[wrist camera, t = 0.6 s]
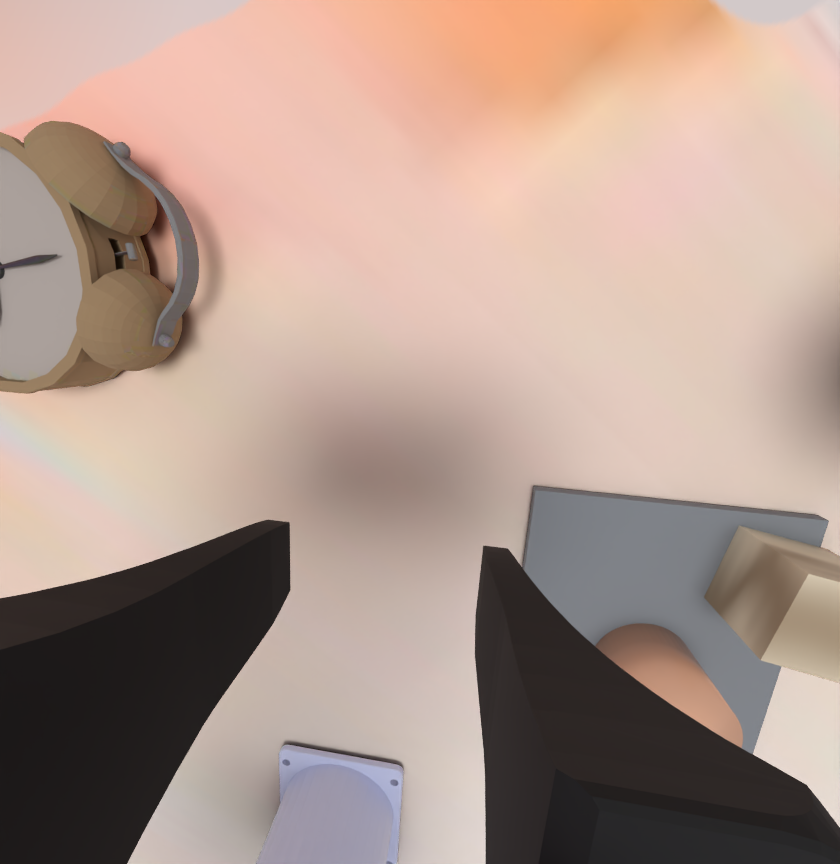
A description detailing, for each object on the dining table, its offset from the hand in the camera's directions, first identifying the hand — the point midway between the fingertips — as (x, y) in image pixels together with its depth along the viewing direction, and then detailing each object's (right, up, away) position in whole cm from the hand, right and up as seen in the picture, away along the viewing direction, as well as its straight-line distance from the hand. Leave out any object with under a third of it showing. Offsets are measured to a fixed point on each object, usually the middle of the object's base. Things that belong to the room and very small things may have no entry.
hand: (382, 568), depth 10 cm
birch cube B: (+17, -3, +9) cm, 20 cm away
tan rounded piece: (+13, -9, +11) cm, 18 cm away
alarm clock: (-16, +12, +11) cm, 22 cm away
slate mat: (+13, -8, +11) cm, 19 cm away
